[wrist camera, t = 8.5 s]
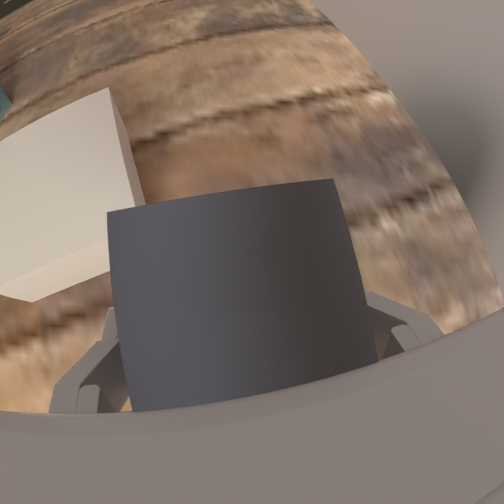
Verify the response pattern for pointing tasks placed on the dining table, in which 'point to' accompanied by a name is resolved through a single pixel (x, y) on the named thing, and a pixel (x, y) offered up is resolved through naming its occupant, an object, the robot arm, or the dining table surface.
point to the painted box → (63, 196)
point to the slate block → (236, 294)
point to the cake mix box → (4, 104)
